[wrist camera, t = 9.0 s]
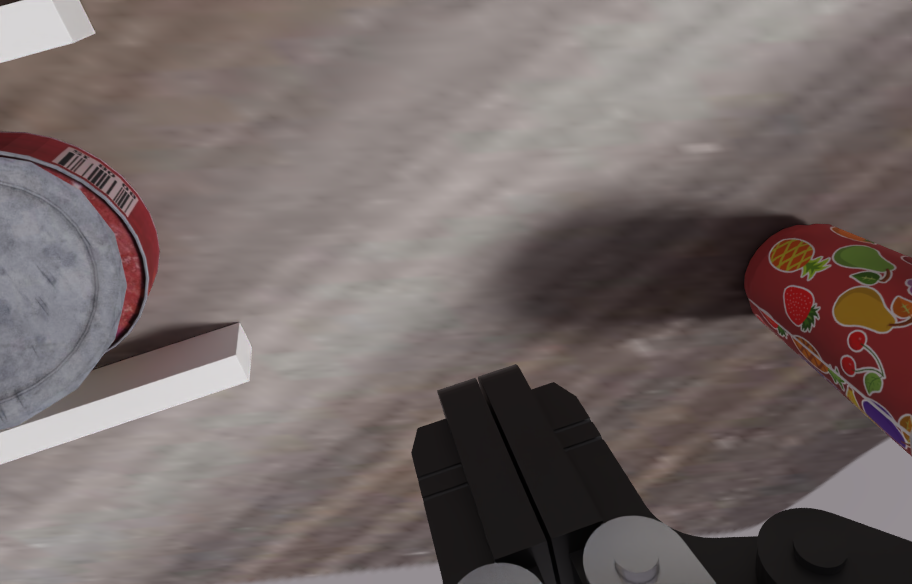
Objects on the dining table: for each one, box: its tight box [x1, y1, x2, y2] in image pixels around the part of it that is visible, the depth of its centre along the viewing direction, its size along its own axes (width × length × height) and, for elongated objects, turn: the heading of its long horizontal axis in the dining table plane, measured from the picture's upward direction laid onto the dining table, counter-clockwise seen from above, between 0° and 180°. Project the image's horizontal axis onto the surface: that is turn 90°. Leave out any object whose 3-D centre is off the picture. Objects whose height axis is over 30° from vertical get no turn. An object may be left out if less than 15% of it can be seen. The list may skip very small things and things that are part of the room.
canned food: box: [0, 132, 160, 430], centre depth 25 cm, size 11×10×10 cm
